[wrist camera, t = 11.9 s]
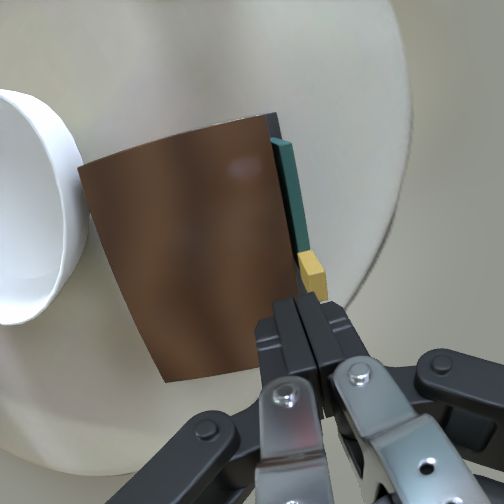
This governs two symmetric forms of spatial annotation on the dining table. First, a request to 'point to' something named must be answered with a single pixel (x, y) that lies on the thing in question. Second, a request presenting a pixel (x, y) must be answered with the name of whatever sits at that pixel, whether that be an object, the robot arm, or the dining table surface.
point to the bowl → (37, 207)
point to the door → (297, 219)
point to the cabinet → (197, 242)
